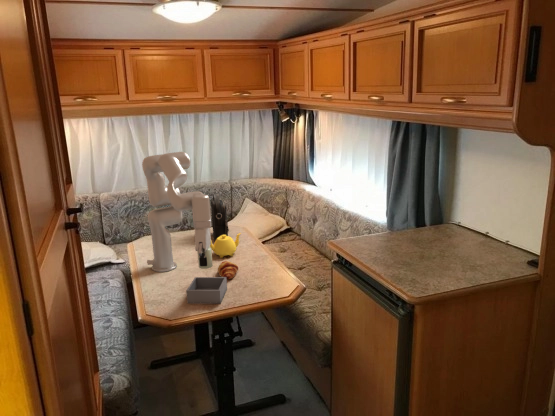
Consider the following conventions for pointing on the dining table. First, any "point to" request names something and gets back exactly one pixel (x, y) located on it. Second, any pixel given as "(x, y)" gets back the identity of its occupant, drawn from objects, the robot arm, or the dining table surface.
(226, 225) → the shoulder bag
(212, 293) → the bin
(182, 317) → the dining table surface
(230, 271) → the croissant
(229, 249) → the teapot
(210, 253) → the pale green rounded block
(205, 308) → the dining table surface
